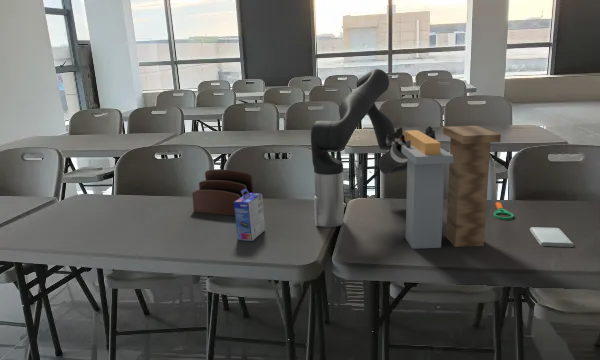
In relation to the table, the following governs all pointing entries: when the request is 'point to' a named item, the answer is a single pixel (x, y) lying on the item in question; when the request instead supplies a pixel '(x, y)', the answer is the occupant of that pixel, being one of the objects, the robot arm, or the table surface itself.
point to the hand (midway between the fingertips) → (415, 129)
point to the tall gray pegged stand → (424, 196)
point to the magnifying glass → (502, 212)
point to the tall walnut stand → (468, 183)
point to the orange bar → (422, 142)
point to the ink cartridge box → (249, 216)
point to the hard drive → (551, 237)
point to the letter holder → (221, 191)
